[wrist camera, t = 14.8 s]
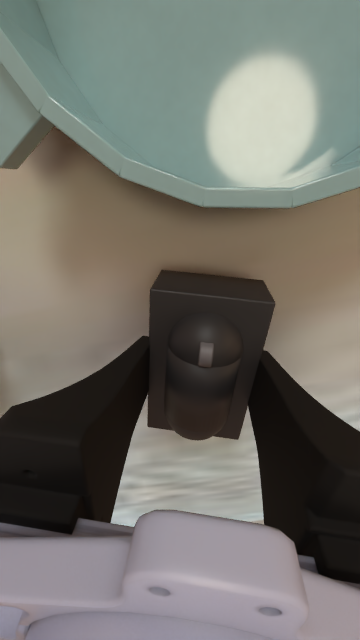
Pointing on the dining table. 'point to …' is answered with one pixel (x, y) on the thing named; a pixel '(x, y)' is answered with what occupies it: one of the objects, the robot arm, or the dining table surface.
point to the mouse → (204, 351)
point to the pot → (191, 93)
